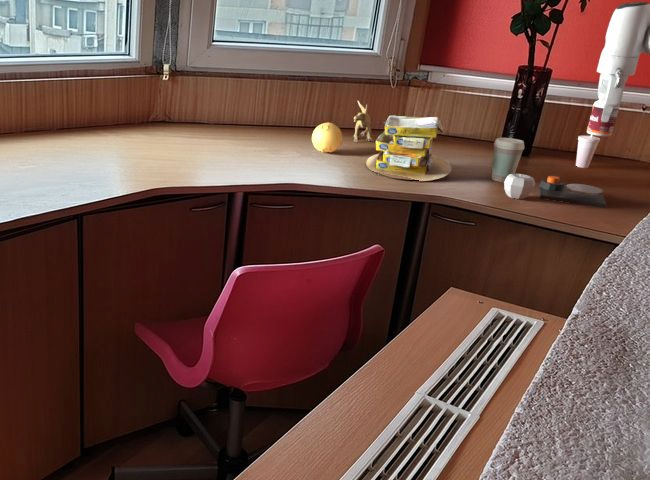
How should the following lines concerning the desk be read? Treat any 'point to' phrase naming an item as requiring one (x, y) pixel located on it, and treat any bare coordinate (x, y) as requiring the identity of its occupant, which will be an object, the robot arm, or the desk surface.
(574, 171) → the desk surface
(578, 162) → the smoothie
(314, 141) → the stress ball
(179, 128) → the desk surface
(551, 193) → the scale
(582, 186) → the scale pan
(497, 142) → the coffee cup
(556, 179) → the tare button
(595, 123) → the pill bottle
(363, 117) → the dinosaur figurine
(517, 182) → the white faceted lump
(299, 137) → the desk surface
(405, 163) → the stacked yellow boxes
